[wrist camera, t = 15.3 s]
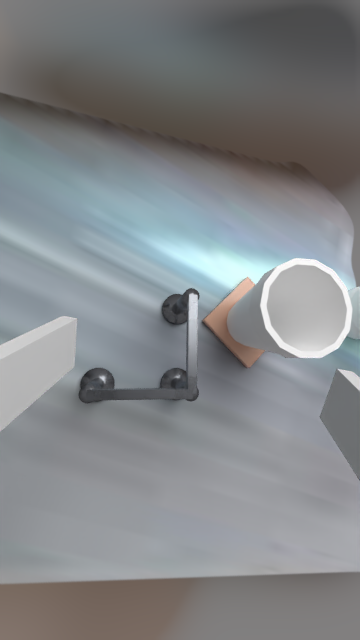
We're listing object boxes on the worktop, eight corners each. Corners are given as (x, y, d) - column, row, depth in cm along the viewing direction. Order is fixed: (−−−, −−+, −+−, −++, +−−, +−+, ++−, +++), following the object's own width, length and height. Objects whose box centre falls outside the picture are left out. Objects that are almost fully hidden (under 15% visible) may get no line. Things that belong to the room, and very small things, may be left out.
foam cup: (242, 276, 39) (297, 238, 26) (291, 318, 39) (368, 301, 27) (202, 327, 37) (241, 314, 24) (254, 371, 37) (318, 379, 25)
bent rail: (74, 384, 34) (53, 395, 25) (177, 289, 38) (193, 267, 28) (136, 447, 34) (138, 482, 25) (231, 346, 38) (265, 344, 29)
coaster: (202, 320, 38) (204, 319, 37) (244, 278, 40) (247, 276, 39) (246, 367, 38) (249, 367, 37) (286, 323, 40) (290, 323, 39)
